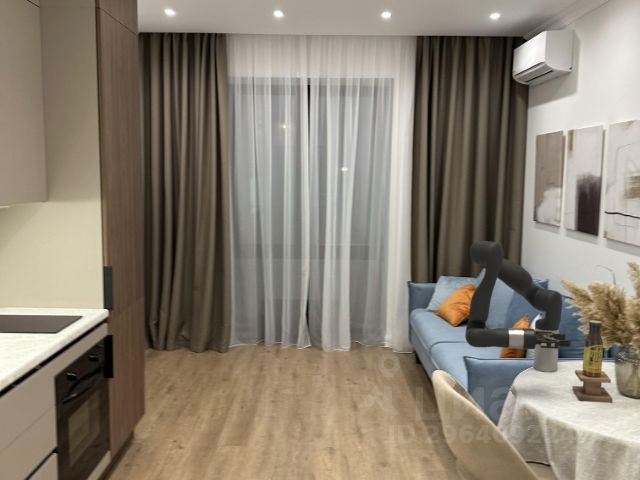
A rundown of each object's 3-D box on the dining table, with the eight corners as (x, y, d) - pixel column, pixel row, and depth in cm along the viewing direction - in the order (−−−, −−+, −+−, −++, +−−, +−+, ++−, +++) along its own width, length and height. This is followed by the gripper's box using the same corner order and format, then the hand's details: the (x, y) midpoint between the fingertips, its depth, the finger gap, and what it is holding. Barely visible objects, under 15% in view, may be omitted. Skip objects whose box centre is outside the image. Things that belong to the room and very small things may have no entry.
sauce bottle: (589, 378, 214) (591, 324, 212) (578, 372, 220) (580, 319, 218) (605, 377, 215) (608, 323, 213) (594, 371, 221) (596, 318, 219)
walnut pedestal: (572, 389, 225) (573, 369, 224) (603, 391, 223) (604, 370, 222) (579, 400, 214) (580, 379, 213) (612, 402, 212) (613, 380, 211)
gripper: (524, 333, 214) (572, 335, 211) (518, 323, 227) (563, 325, 224) (523, 354, 214) (571, 356, 211) (518, 342, 228) (563, 344, 225)
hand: (567, 340), depth 218 cm, fingers open, 8 cm apart
